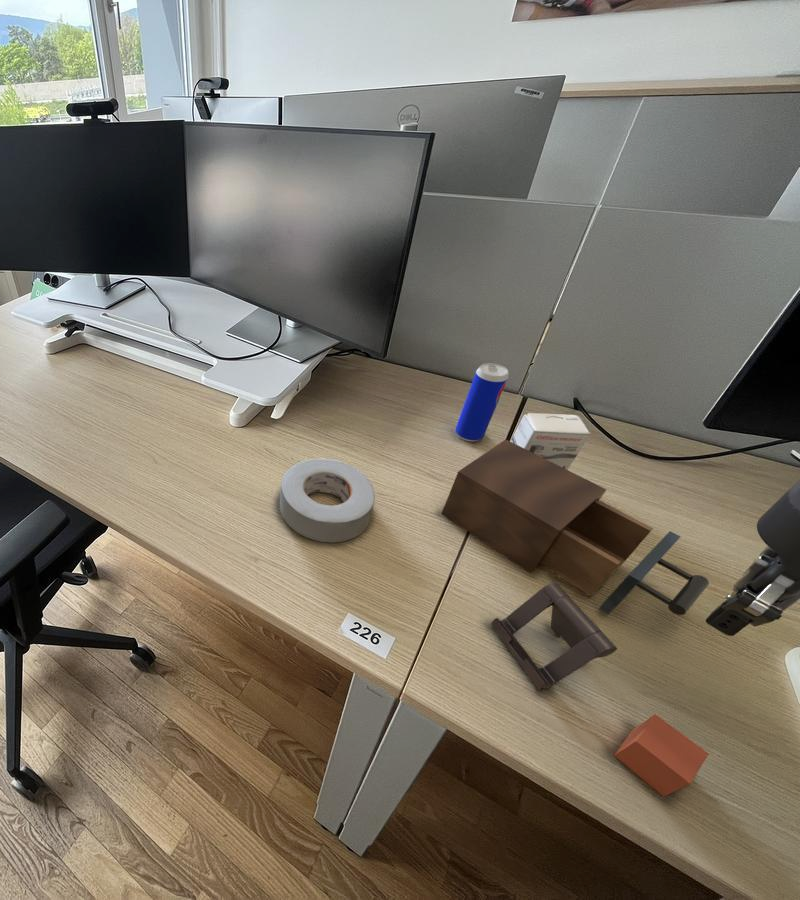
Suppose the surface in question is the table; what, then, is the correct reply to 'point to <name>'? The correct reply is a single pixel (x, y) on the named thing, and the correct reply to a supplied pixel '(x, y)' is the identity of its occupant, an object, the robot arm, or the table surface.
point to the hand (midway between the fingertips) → (720, 625)
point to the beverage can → (481, 401)
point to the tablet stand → (564, 623)
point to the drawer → (614, 557)
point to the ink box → (552, 436)
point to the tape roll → (321, 518)
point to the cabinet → (518, 502)
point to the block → (661, 755)
